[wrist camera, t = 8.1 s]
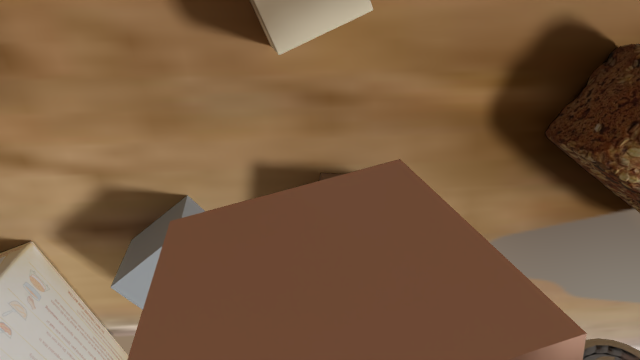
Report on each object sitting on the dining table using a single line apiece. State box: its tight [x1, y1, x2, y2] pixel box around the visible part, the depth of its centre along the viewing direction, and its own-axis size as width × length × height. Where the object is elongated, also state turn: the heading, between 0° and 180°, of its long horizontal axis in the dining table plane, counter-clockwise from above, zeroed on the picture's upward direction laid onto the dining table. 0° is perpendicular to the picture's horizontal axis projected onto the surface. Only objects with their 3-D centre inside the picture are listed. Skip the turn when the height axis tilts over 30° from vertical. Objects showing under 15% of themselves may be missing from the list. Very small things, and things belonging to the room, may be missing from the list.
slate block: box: [111, 195, 205, 309], centre depth 30 cm, size 6×6×6 cm
